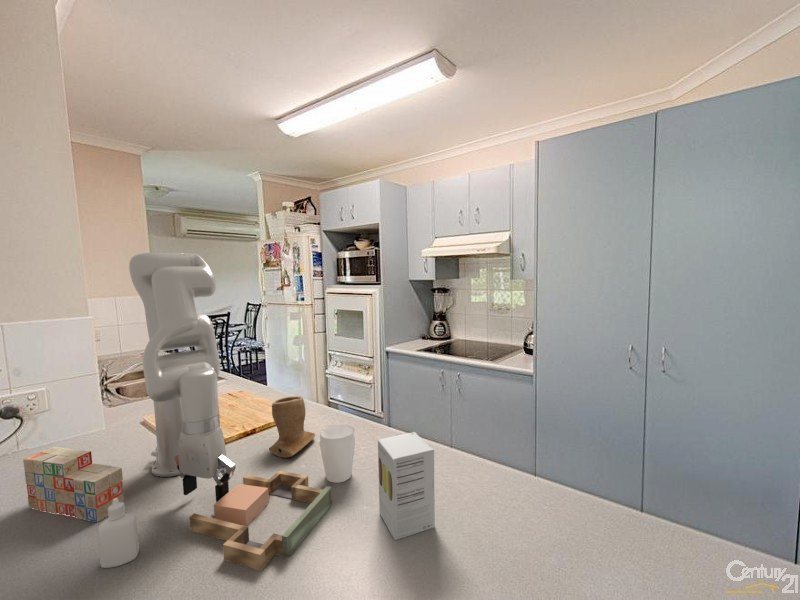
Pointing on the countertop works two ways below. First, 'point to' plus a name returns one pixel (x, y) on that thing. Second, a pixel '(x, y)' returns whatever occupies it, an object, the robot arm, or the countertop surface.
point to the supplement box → (406, 484)
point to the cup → (337, 451)
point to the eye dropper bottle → (118, 537)
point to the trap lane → (260, 554)
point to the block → (241, 504)
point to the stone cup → (290, 426)
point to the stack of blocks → (71, 483)
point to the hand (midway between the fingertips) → (206, 495)
